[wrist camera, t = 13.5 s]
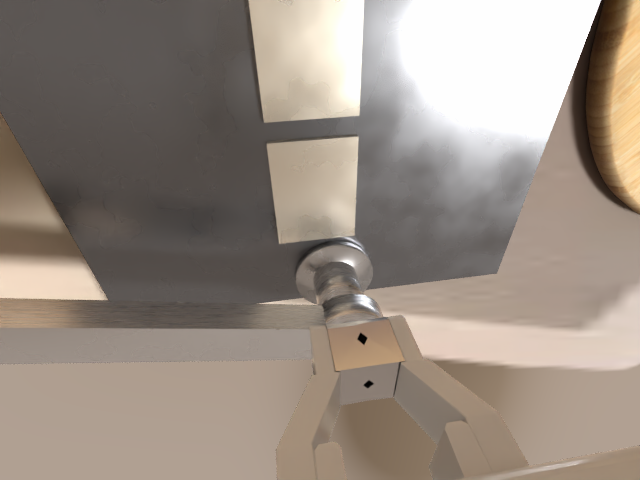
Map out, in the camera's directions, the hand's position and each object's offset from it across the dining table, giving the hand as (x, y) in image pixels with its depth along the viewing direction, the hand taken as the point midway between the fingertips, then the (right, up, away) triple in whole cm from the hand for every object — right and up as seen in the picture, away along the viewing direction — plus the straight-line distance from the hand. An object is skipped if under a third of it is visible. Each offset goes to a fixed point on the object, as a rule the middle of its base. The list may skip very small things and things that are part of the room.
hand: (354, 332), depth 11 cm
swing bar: (-8, -1, +6) cm, 10 cm away
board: (-2, +7, +8) cm, 11 cm away
